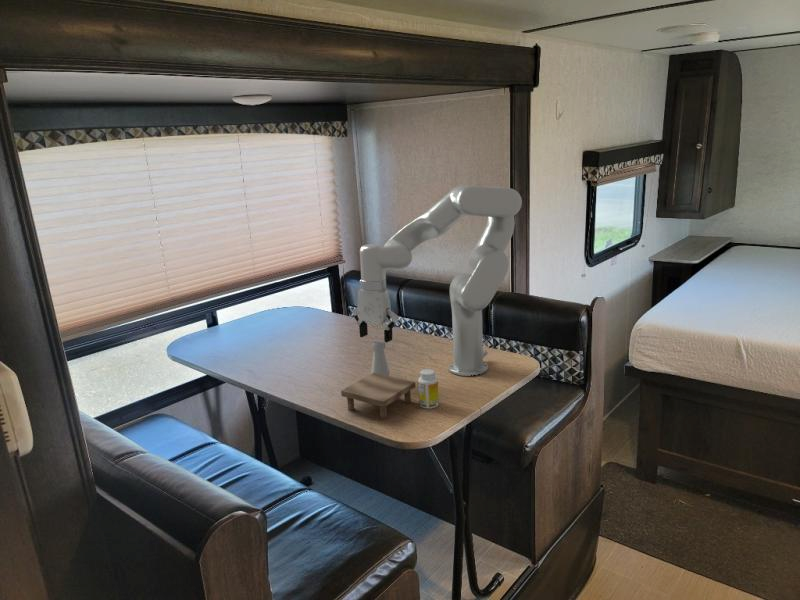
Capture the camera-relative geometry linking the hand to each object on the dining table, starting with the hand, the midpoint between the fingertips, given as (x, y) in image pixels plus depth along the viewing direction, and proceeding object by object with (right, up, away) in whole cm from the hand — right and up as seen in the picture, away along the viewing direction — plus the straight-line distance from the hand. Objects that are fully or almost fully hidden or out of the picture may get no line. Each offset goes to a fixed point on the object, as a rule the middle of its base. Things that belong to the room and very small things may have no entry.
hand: (375, 338), depth 178 cm
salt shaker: (+1, -14, +4) cm, 14 cm away
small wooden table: (+2, -18, -14) cm, 23 cm away
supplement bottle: (+16, -18, -16) cm, 29 cm away
